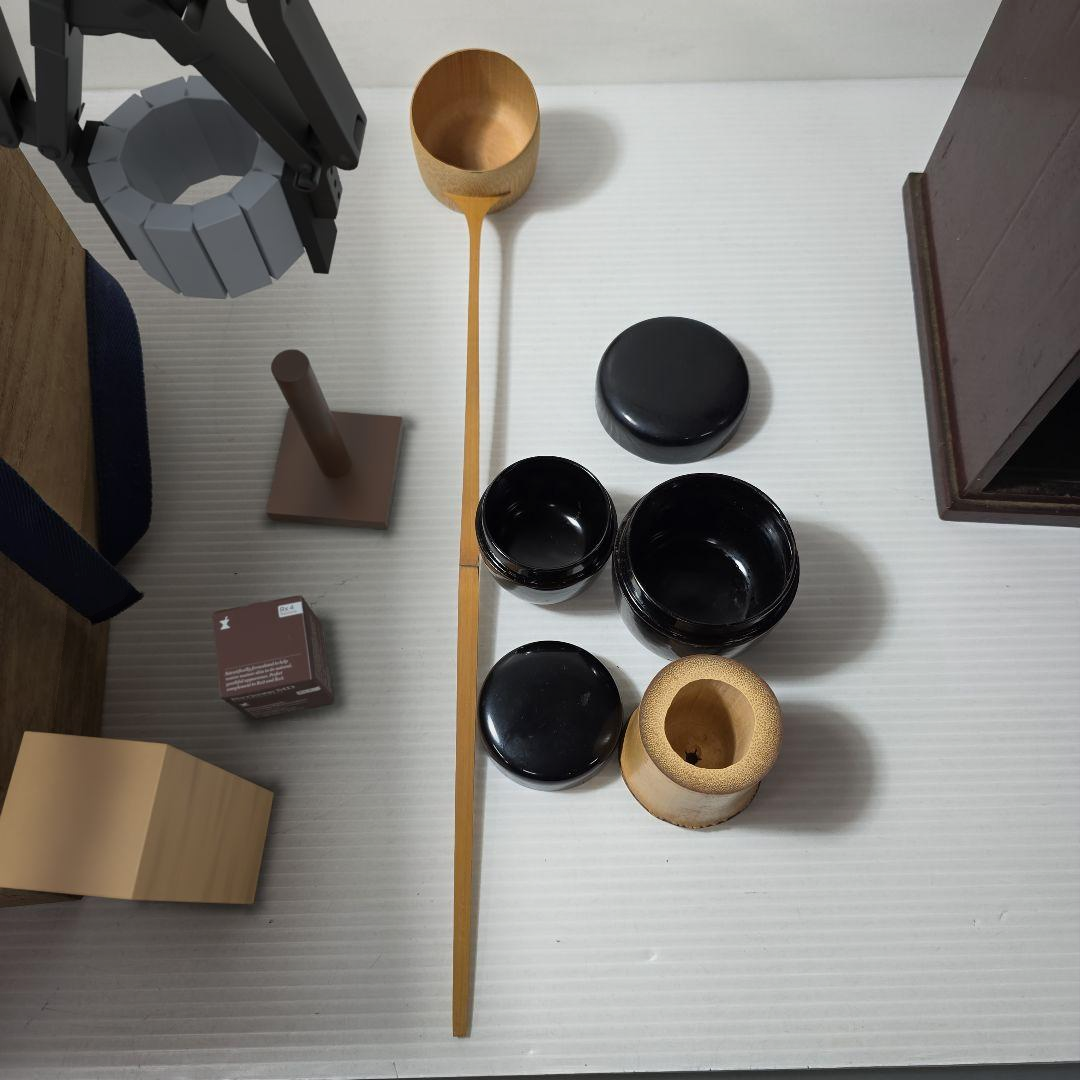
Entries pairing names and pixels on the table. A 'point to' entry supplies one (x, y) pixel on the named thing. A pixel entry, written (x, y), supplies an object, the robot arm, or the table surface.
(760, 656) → the table surface
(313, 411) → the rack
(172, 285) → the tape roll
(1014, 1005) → the table surface
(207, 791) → the stand
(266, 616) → the box
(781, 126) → the table surface
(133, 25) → the robot arm
